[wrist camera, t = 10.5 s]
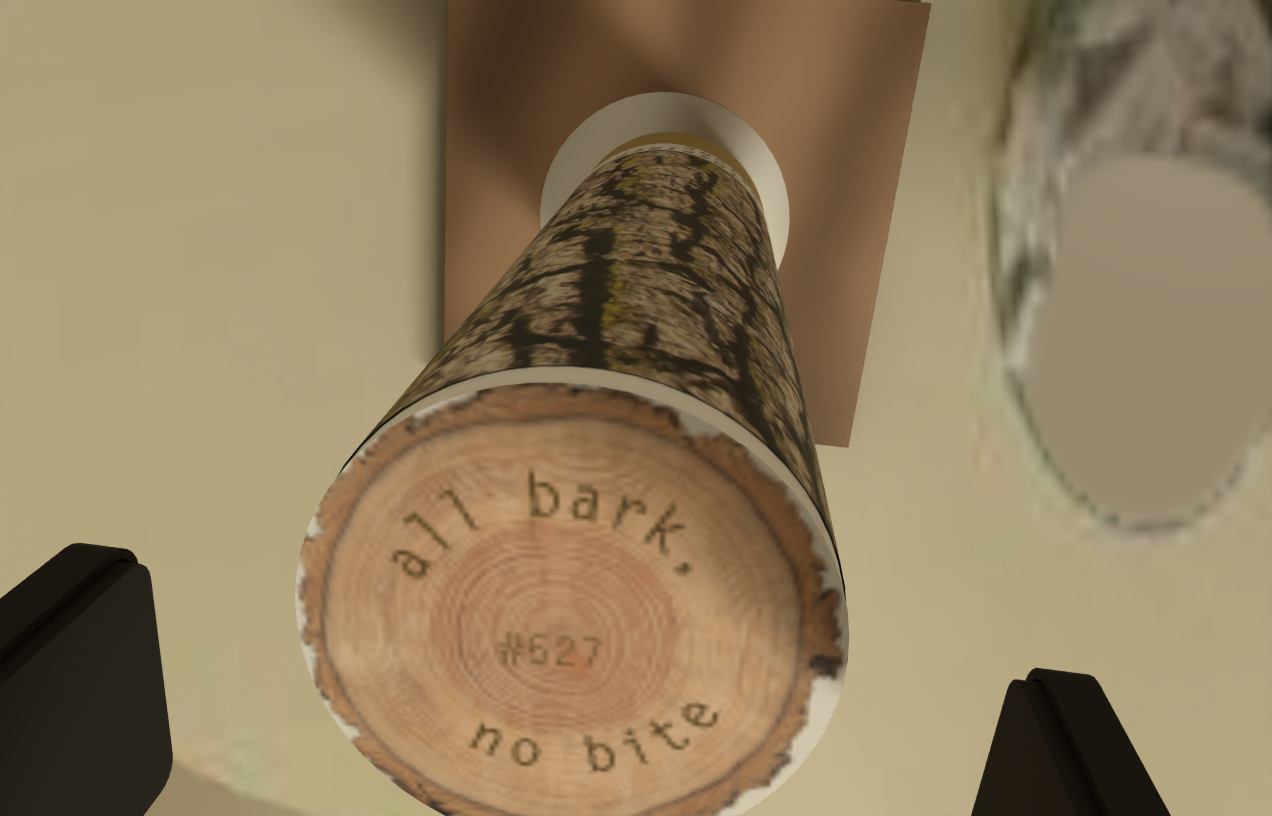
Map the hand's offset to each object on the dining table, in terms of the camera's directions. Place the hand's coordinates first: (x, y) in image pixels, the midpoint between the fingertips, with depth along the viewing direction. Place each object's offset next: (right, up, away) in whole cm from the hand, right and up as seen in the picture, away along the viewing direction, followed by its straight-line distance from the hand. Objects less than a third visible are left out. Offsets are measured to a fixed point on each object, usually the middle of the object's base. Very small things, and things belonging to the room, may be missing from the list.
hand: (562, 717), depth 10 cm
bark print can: (+2, +10, +25) cm, 27 cm away
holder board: (+2, +11, +26) cm, 28 cm away
